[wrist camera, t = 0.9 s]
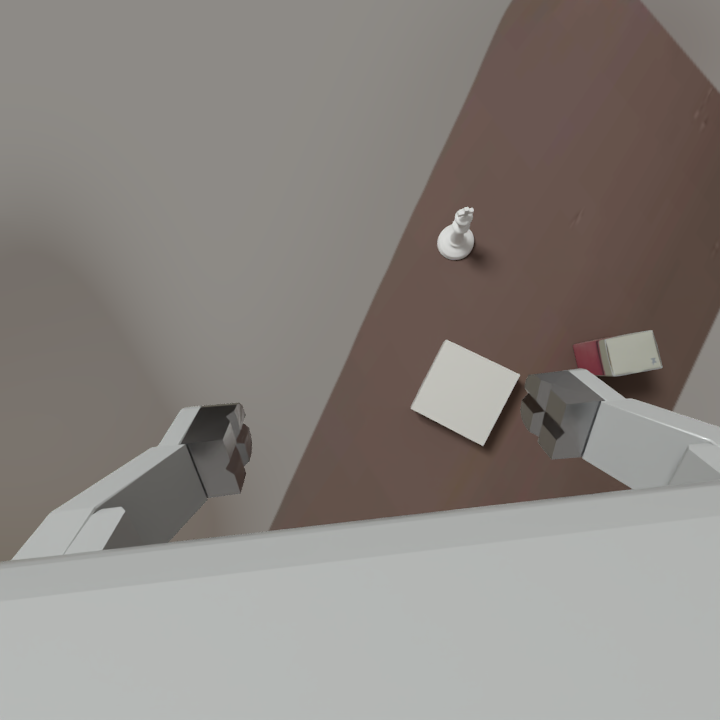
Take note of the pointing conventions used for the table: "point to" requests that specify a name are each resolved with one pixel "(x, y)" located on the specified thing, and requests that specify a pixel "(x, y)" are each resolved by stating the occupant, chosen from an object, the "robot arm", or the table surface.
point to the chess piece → (457, 236)
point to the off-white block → (464, 392)
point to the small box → (619, 354)
